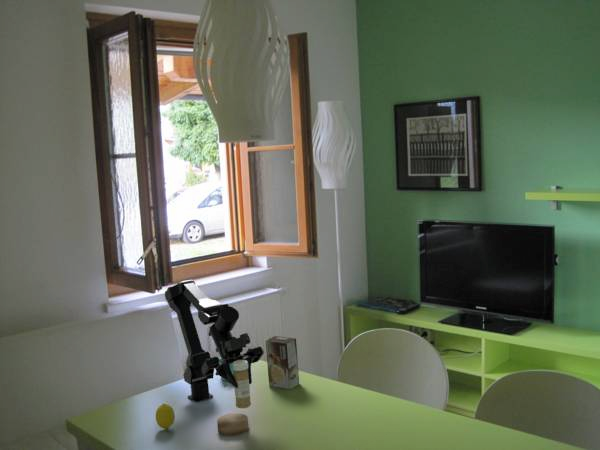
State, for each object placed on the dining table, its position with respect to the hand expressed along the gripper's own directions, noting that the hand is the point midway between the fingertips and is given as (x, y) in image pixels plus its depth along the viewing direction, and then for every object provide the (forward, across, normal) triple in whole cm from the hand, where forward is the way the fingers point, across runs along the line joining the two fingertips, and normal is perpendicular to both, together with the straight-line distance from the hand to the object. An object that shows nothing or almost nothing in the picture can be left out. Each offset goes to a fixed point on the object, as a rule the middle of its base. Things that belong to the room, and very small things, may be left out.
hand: (243, 385), depth 195 cm
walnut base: (+8, -3, +11) cm, 14 cm away
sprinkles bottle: (+4, 0, +6) cm, 7 cm away
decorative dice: (-19, +17, +39) cm, 47 cm away
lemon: (-2, -19, +21) cm, 28 cm away
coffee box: (-6, +27, +26) cm, 38 cm away
